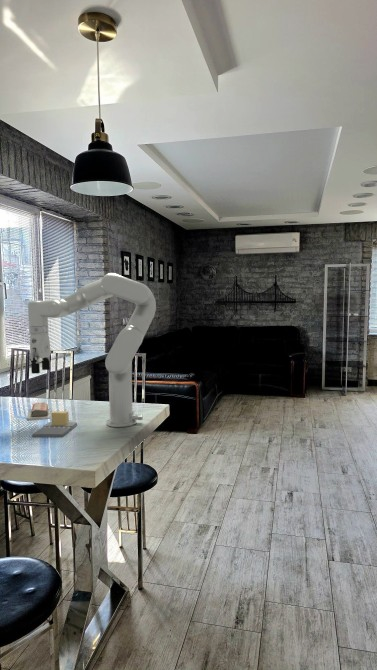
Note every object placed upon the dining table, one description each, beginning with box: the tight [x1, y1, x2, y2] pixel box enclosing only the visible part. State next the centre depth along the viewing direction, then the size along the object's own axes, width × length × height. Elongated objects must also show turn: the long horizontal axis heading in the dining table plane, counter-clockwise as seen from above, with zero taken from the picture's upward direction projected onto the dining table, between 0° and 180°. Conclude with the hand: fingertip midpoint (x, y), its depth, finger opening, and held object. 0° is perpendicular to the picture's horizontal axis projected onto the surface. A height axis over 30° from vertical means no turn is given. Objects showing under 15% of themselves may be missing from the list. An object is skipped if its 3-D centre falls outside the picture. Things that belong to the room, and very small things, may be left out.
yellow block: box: [42, 410, 78, 430], centre depth 181 cm, size 12×6×6 cm, turn 85°
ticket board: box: [31, 426, 73, 438], centre depth 173 cm, size 12×10×1 cm
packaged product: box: [26, 401, 52, 422], centre depth 203 cm, size 18×5×10 cm
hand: (40, 371), depth 183 cm, fingers open, 9 cm apart
